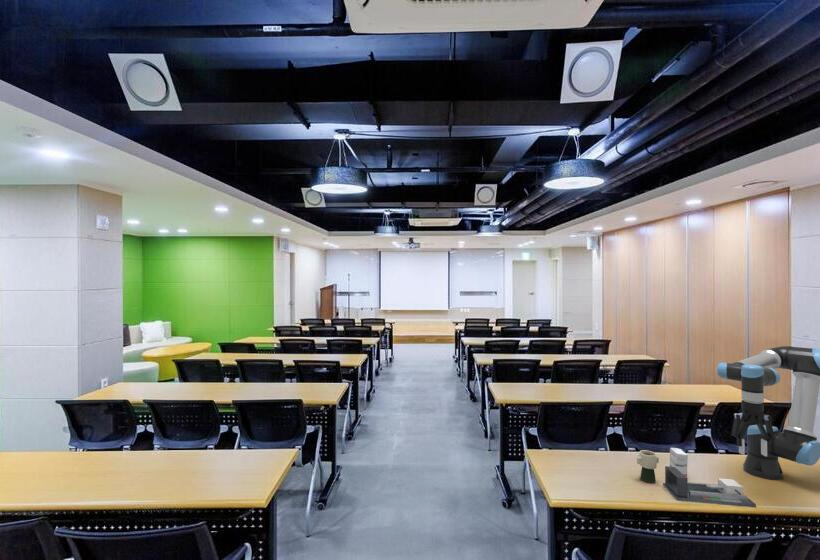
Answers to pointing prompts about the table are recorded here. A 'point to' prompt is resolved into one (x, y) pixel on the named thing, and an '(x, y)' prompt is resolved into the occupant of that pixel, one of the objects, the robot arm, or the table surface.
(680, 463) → the ink box
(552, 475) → the table surface
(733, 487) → the gauge carriage
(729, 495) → the gauge bed
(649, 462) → the character mug
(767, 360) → the robot arm
